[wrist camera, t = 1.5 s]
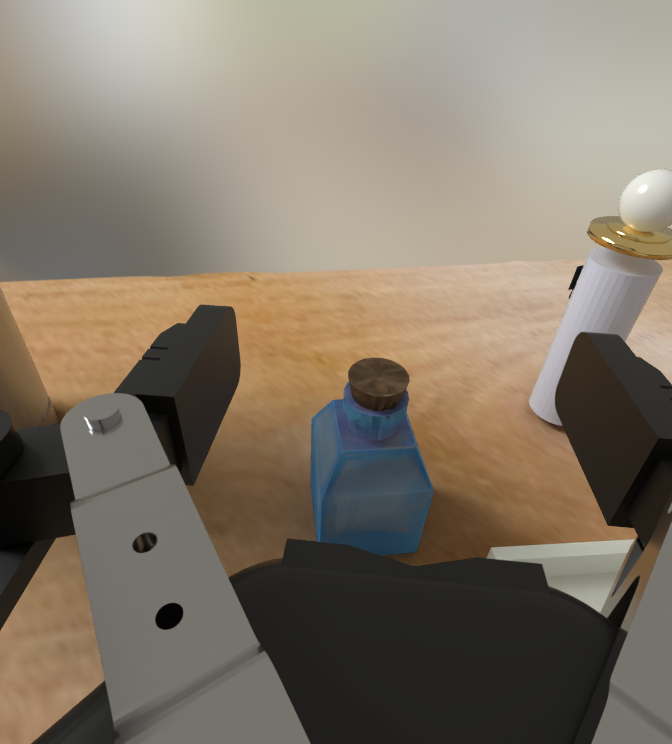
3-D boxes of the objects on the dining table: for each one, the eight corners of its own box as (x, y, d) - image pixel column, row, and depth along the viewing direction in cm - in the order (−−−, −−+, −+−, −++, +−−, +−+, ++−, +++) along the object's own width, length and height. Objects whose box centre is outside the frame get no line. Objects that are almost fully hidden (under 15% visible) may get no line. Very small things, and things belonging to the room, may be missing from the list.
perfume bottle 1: (394, 474, 34) (421, 339, 27) (416, 552, 30) (455, 414, 22) (310, 480, 34) (313, 343, 26) (318, 561, 29) (325, 421, 21)
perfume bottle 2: (596, 444, 38) (742, 190, 25) (522, 431, 38) (628, 178, 26) (582, 398, 42) (700, 162, 30) (516, 387, 43) (604, 153, 30)
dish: (581, 876, 19) (612, 866, 17) (478, 574, 29) (491, 547, 27) (859, 839, 20) (916, 827, 18) (669, 562, 30) (694, 535, 28)
